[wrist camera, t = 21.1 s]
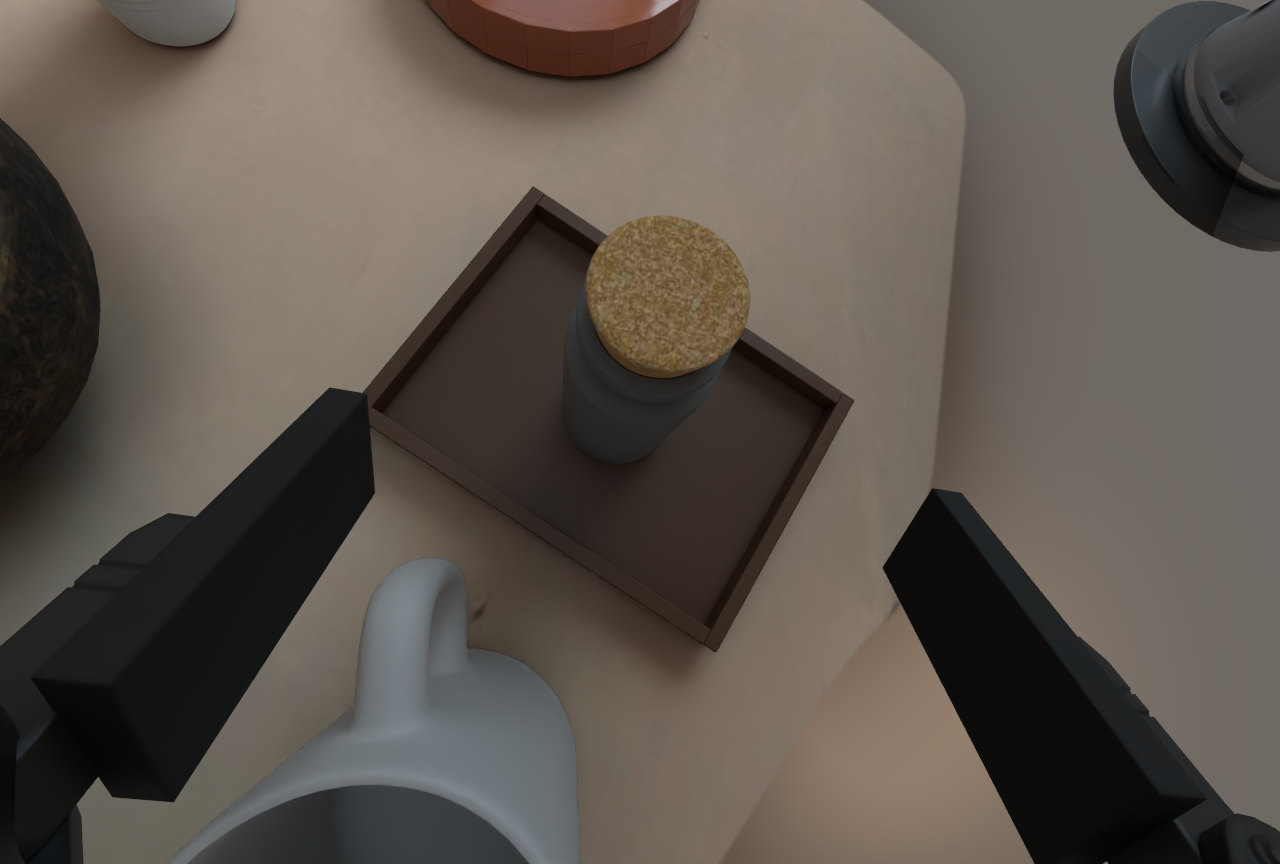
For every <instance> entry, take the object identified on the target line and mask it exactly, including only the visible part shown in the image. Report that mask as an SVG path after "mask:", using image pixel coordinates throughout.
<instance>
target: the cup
mask: <svg viewBox="0 0 1280 864" xmlns="http://www.w3.org/2000/svg"><path fill="white" fill-rule="evenodd" d="M97 1H99V2H100V3H101V4H102V5H103V6H104V7H105V8H106V9H107V10H108V11H110V12H111V13H112V14H113V15H114V16H115V17H116V18H117V19H118V20H120V21H121V22H122V23H123V24H124V25H125V26H126V27H127V28H128V29H130V30H131V31H132V32H134V33H135V34H137V35H138V36H140V37H142V38H144V39H146V40H148V41H151V42H154V43H158V44H162V45H169V46H177V47H181V46H193V45H198V44H201V43H204V42H207V41H209V40H211V39H213V38H215V37H216V36H218V35H219V34H220V33H221V32H222V31H224V29H225V28H226V27H227V25H228V24H229V22H230V20H231V18H232V16H233V14H234V12H235V6H236V0H97Z"/></svg>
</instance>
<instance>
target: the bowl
mask: <svg viewBox="0 0 1280 864" xmlns="http://www.w3.org/2000/svg"><path fill="white" fill-rule="evenodd" d="M99 321H100V294H99V287H98V281H97V275H96V269H95V264H94V258H93V252H92V250H91V248H90V246H89V243H88V241H87V239H86V237H85V234H84V232H83V230H82V228H81V225H80V223H79V221H78V219H77V217H76V215H75V213H74V211H73V209H72V207H71V205H70V203H69V202H68V200H67V198H66V196H65V194H64V192H63V190H62V189H61V187H60V185H59V183H58V182H57V180H56V179H55V178H54V176H53V175H52V174H51V173H50V171H49V170H48V169H47V167H46V166H45V165H44V164H43V162H42V161H41V160H40V158H39V157H38V156H37V155H36V153H35V152H34V151H33V149H32V148H31V147H30V146H29V145H28V144H27V143H26V142H25V141H24V140H23V139H22V138H21V137H20V136H19V135H18V134H17V133H16V132H15V131H13V130H12V129H11V128H10V127H9V126H8V125H7V124H6V123H5V122H4V121H3V120H2V119H1V118H0V482H2V481H3V480H4V479H6V478H7V477H8V476H9V475H10V474H11V473H13V472H14V471H15V470H16V469H17V468H18V467H20V466H21V465H22V464H23V463H24V462H25V461H27V460H28V459H29V458H30V457H31V456H32V455H34V454H35V453H36V452H37V451H38V450H39V449H40V448H41V447H42V446H43V445H44V444H45V442H46V441H47V440H48V439H49V438H50V436H51V435H52V434H53V433H54V432H55V430H56V429H57V428H58V427H59V425H60V424H61V423H62V422H63V421H64V419H65V418H66V417H67V416H68V414H69V412H70V410H71V409H72V407H73V405H74V403H75V401H76V400H77V398H78V396H79V394H80V392H81V391H82V389H83V387H84V385H85V383H86V381H87V379H88V376H89V372H90V369H91V366H92V363H93V359H94V356H95V353H96V350H97V346H98V336H99Z"/></svg>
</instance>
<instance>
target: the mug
mask: <svg viewBox="0 0 1280 864" xmlns="http://www.w3.org/2000/svg"><path fill="white" fill-rule="evenodd" d="M166 864H581V854H580V837H579V820H578V801H577V761H576V749H575V744H574V738H573V733H572V729H571V726H570V723H569V720H568V717H567V715H566V713H565V711H564V709H563V707H562V704H561V702H560V701H559V699H558V698H557V696H556V695H555V693H554V692H553V690H552V689H551V688H550V687H549V685H548V684H547V683H546V682H545V681H544V680H543V679H542V678H541V677H540V676H539V675H538V674H537V673H535V672H534V671H533V670H532V669H531V668H529V667H528V666H526V665H524V664H523V663H521V662H520V661H518V660H516V659H513V658H511V657H509V656H507V655H504V654H501V653H497V652H494V651H490V650H483V649H476V648H468V644H467V593H466V585H465V580H464V577H463V574H462V573H461V571H460V570H459V569H458V568H457V566H456V565H455V564H453V563H452V562H449V561H447V560H444V559H435V558H423V559H416V560H413V561H410V562H407V563H404V564H402V565H400V566H398V567H396V568H395V569H393V570H392V571H391V572H390V573H389V574H388V575H387V576H386V577H385V578H384V579H383V580H382V582H381V583H380V584H379V585H378V587H377V588H376V590H375V592H374V593H373V595H372V597H371V600H370V602H369V605H368V608H367V610H366V614H365V618H364V622H363V627H362V633H361V639H360V646H359V656H358V667H357V679H356V692H355V703H354V706H353V707H352V708H350V709H349V710H348V711H347V712H345V713H344V714H343V715H342V716H341V717H339V718H338V719H337V720H336V721H334V722H333V723H332V724H331V725H329V726H328V727H327V728H326V729H324V730H323V731H322V732H321V733H319V734H318V735H317V736H316V737H315V738H313V739H312V740H311V741H310V742H308V743H307V744H306V745H305V746H303V747H302V748H301V749H300V750H298V751H297V752H296V753H295V754H293V755H292V756H291V757H290V758H289V759H287V760H286V761H285V762H284V763H282V764H281V765H280V766H279V767H277V768H276V769H275V770H274V771H272V772H271V773H270V774H269V775H267V776H266V777H265V778H264V779H262V780H261V781H260V782H259V783H258V784H256V785H255V786H254V787H253V788H251V789H250V790H249V791H248V792H246V793H245V794H244V795H243V796H241V797H240V798H239V799H238V800H236V801H235V802H234V803H233V804H232V805H230V806H229V807H228V808H227V809H225V810H224V811H223V812H222V813H220V814H219V815H218V816H217V817H216V818H214V819H213V820H212V821H211V822H210V823H209V824H208V825H207V826H205V827H204V828H203V829H202V830H201V831H200V832H199V833H198V834H197V835H195V836H194V837H193V838H192V839H191V840H190V841H189V842H188V843H187V844H186V845H184V846H183V847H182V848H181V849H180V850H179V851H178V852H177V853H176V854H175V855H174V856H173V857H172V858H171V859H170V860H169V861H168V862H167V863H166Z"/></svg>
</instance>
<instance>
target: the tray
mask: <svg viewBox="0 0 1280 864" xmlns="http://www.w3.org/2000/svg"><path fill="white" fill-rule="evenodd" d="M606 237H607V235H606V234H604V233H603V232H601V231H600V230H598V229H597V228H595V227H594V226H592V225H591V224H589V223H588V222H586V221H585V220H583V219H581V218H580V217H578V216H577V215H575V214H574V213H572V212H571V211H569V210H568V209H566V208H565V207H563V206H562V205H560V204H559V203H557V202H556V201H554V200H553V199H551V198H550V197H548V196H547V195H545V194H544V193H542V192H541V191H539V190H538V189H536V188H535V187H532V188H531V189H530V191H529V192H528V193H527V194H526V195H525V197H524V198H523V199H522V200H521V202H520V203H519V204H518V205H517V206H516V208H515V209H514V210H513V211H512V212H511V214H510V215H509V216H508V217H507V219H506V220H505V221H504V222H503V223H502V225H501V226H500V227H499V228H498V229H497V231H496V232H495V233H494V234H493V235H492V237H491V238H490V239H489V240H488V242H487V243H486V244H485V245H484V246H483V248H482V249H481V250H480V251H479V252H478V254H477V255H476V256H475V257H474V259H473V260H472V261H471V262H470V263H469V265H468V266H467V267H466V268H465V269H464V271H463V272H462V273H461V274H460V275H459V277H458V278H457V279H456V280H455V282H454V283H453V284H452V285H451V286H450V288H449V289H448V290H447V291H446V292H445V294H444V295H443V296H442V297H441V299H440V300H439V301H438V302H437V303H436V305H435V306H434V307H433V308H432V309H431V311H430V312H429V313H428V314H427V315H426V317H425V318H424V319H423V320H422V322H421V323H420V324H419V325H418V326H417V328H416V329H415V330H414V331H413V332H412V334H411V335H410V336H409V337H408V339H407V340H406V341H405V342H404V343H403V345H402V346H401V347H400V348H399V349H398V351H397V352H396V353H395V354H394V355H393V357H392V358H391V359H390V360H389V362H388V363H387V364H386V365H385V366H384V368H383V369H382V370H381V371H380V372H379V374H378V375H377V376H376V377H375V379H374V380H373V381H372V382H371V383H370V385H369V386H368V387H367V388H366V389H365V391H364V392H363V393H365V394H367V400H368V413H369V425H370V427H372V428H374V429H375V430H377V431H378V432H380V433H381V434H383V435H384V436H386V437H387V438H389V439H390V440H392V441H393V442H395V443H396V444H398V445H399V446H401V447H403V448H404V449H406V450H407V451H409V452H410V453H412V454H413V455H415V456H416V457H418V458H419V459H421V460H422V461H424V462H425V463H427V464H428V465H430V466H432V467H433V468H435V469H436V470H438V471H439V472H441V473H442V474H444V475H445V476H447V477H448V478H450V479H451V480H453V481H454V482H456V483H457V484H459V485H461V486H462V487H464V488H465V489H467V490H468V491H470V492H471V493H473V494H474V495H476V496H477V497H479V498H480V499H482V500H483V501H485V502H486V503H488V504H490V505H491V506H493V507H494V508H496V509H497V510H499V511H500V512H502V513H503V514H505V515H506V516H508V517H509V518H511V519H512V520H514V521H515V522H517V523H519V524H520V525H522V526H523V527H525V528H526V529H528V530H529V531H531V532H532V533H534V534H535V535H537V536H538V537H540V538H541V539H543V540H544V541H546V542H547V543H549V544H551V545H552V546H554V547H555V548H557V549H558V550H560V551H561V552H563V553H564V554H566V555H567V556H569V557H570V558H572V559H573V560H575V561H576V562H578V563H580V564H581V565H583V566H584V567H586V568H587V569H589V570H590V571H592V572H593V573H595V574H596V575H598V576H599V577H601V578H602V579H604V580H605V581H607V582H609V583H610V584H612V585H613V586H615V587H616V588H618V589H619V590H621V591H622V592H624V593H625V594H627V595H628V596H630V597H631V598H633V599H634V600H636V601H638V602H639V603H641V604H642V605H644V606H645V607H647V608H648V609H650V610H651V611H653V612H654V613H656V614H657V615H659V616H660V617H662V618H663V619H665V620H667V621H668V622H670V623H671V624H673V625H674V626H676V627H677V628H679V629H680V630H682V631H683V632H685V633H686V634H688V635H689V636H691V637H692V638H694V639H696V640H697V641H699V642H700V643H702V644H703V645H705V646H706V647H708V648H709V649H711V650H712V651H714V652H717V650H718V649H719V647H720V645H721V643H722V641H723V639H724V638H725V636H726V634H727V632H728V630H729V628H730V627H731V625H732V623H733V621H734V619H735V618H736V616H737V614H738V612H739V610H740V608H741V607H742V605H743V603H744V601H745V599H746V597H747V596H748V594H749V592H750V590H751V588H752V586H753V585H754V583H755V581H756V579H757V577H758V576H759V574H760V572H761V570H762V568H763V566H764V565H765V563H766V561H767V559H768V557H769V555H770V554H771V552H772V550H773V548H774V546H775V545H776V543H777V541H778V539H779V537H780V535H781V534H782V532H783V530H784V528H785V526H786V524H787V523H788V521H789V519H790V517H791V515H792V513H793V512H794V510H795V508H796V506H797V504H798V503H799V501H800V499H801V497H802V495H803V493H804V492H805V490H806V488H807V486H808V484H809V482H810V481H811V479H812V477H813V475H814V473H815V472H816V470H817V468H818V466H819V464H820V462H821V461H822V459H823V457H824V455H825V453H826V451H827V450H828V448H829V446H830V444H831V442H832V440H833V439H834V437H835V435H836V433H837V431H838V430H839V428H840V426H841V424H842V422H843V420H844V419H845V417H846V415H847V413H848V411H849V409H850V408H851V406H852V404H853V402H854V400H853V399H852V398H850V397H849V396H847V395H845V394H844V393H843V394H842V392H841V391H840V390H838V389H837V388H835V387H834V386H832V385H831V384H829V383H828V382H826V381H825V380H823V379H822V378H820V377H819V376H817V375H816V374H814V373H813V372H811V371H810V370H808V369H807V368H805V367H804V366H802V365H801V364H799V363H798V362H796V361H795V360H793V359H792V358H790V357H789V356H787V355H786V354H784V353H783V352H781V351H780V350H778V349H777V348H775V347H774V346H772V345H771V344H769V343H768V342H766V341H765V340H763V339H762V338H760V337H759V336H757V335H756V334H754V333H753V332H751V331H750V330H748V329H747V328H745V327H744V329H743V332H742V334H741V336H740V338H739V339H738V341H737V342H736V343H735V345H734V346H733V347H732V349H731V352H730V355H729V357H728V359H727V360H726V362H725V364H724V365H723V367H722V368H721V370H720V373H719V376H718V379H717V381H716V384H715V386H714V388H713V389H712V391H711V392H710V394H709V396H708V397H707V398H706V399H705V400H704V402H703V403H702V404H701V405H700V406H699V407H698V408H697V409H696V410H695V411H694V412H693V413H692V415H691V416H690V417H689V418H688V419H686V420H685V421H684V422H683V423H682V424H681V425H680V426H679V427H678V428H677V429H676V430H675V431H674V432H673V433H671V434H670V435H669V436H668V437H667V438H666V439H665V440H664V441H663V442H662V443H661V444H660V445H659V446H658V447H657V448H655V449H654V450H653V451H652V452H650V453H649V454H648V455H646V456H645V457H643V458H641V459H639V460H636V461H633V462H630V463H625V464H609V463H605V462H601V461H598V460H595V459H593V458H591V457H590V456H588V455H587V454H585V453H584V452H583V451H581V450H580V449H579V448H578V447H577V446H576V444H575V443H574V442H573V440H572V439H571V437H570V436H569V433H568V431H567V428H566V426H565V421H564V416H563V355H564V341H565V334H566V330H567V325H568V322H569V319H570V317H571V315H572V313H573V311H574V310H575V308H576V306H577V304H578V298H579V295H580V292H581V289H582V287H583V285H584V282H585V281H586V275H587V271H588V268H589V265H590V262H591V259H592V257H593V255H594V253H595V252H596V250H597V249H598V247H599V246H600V244H601V243H602V242H603V241H604V240H605V238H606Z"/></svg>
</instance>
